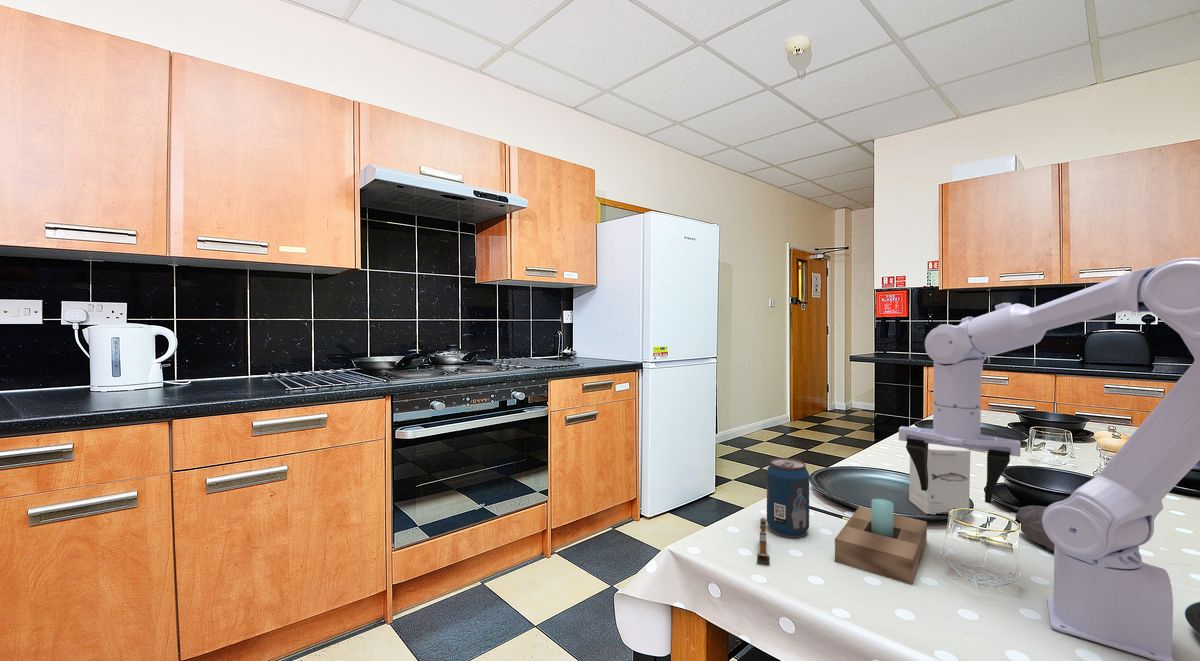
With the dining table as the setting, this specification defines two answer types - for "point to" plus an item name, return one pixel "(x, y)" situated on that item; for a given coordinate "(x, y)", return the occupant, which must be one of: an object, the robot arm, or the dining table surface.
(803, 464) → the soda can
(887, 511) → the peg
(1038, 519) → the perforated stone tool
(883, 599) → the dining table surface
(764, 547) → the brown long banded part
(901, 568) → the hole block
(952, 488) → the supplement box
